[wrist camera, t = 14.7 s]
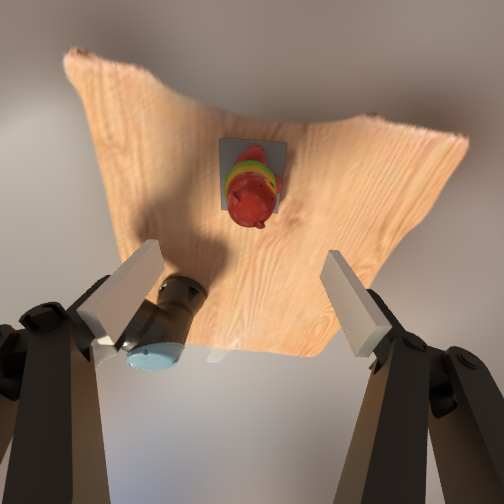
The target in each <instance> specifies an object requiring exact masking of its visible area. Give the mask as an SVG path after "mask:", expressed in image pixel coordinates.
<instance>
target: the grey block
mask: <svg viewBox="0 0 504 504" xmlns="http://www.w3.org/2000/svg"><path fill="white" fill-rule="evenodd" d="M287 144H288V143H285V142H272V141H258V140H244V139H229V138H219V155H220V186H221V210H228V208H227V201H226V198H225V194H224V184H225V179H226V177H227V175H228V173H229V171H230V170H231V169H232V167H233V165H234V163H235V161H236V160H237V158H238V157H239V156H240V154H241V153H242V152H243V151H244V150H246V149H247V148H248V147H250V146H251V145H256V146H261V147H262V149H263V150H264V151H265V153H266V163H267V166H268V168H269V169H270V171H271V172H272V173H274V174H276V175H278V176H279V177H280V178H281V181H282V179H283V172H284V165H285V158H286V151H287ZM280 193H281V192H280ZM280 193H279V194H278V195H277V201H276V206H275V209H274V211H273V213H277V214H278V207H279V200H280Z"/></svg>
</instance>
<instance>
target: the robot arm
mask: <svg viewBox="0 0 504 504" xmlns="http://www.w3.org/2000/svg"><path fill="white" fill-rule="evenodd" d="M164 269H165V266H164V262H163V258H162V254H161V250H160V246H159V242H158V240H153V239H147V240H146V241H145V242H144V243H143V244H142V245H141V246H140V247H139V248H138V249H137V250H136V251H135V252H134V253H133V254H132V255H131V256H130V257H129V258H128V259H127V260H126V261H125V262H124V263H123V264H122V265H121V266H120V267H119V268H118V269H117V270H116V271H115V272H114V273H113V274H112V275H106V276H105V277H103V278H101V279H100V280H98V281H97V282H96V283H95V284H94V285H92V286H91V288H89V289H88V290H87V291H86V293H84V294H83V295H82V296H81V297H80V298H79V299H78V300H77V301H75V302H74V303H73V304H72V305H71V306H70V307H69V308H68V309H67V310H66V311H65V309H64V308H63V307H62V306H61V304H60V303H58V302H48V303H44V304H41V305H38V306H36V307H34V308H32V309H30V310H29V311H27V312H26V313H25V314H24V315H22V316H21V318H20V320H19V322H20V323H21V324H22V325H23V326H24V327H25V328H26V329H20V330H15V329H14V328H12V326H11V325H6V324H3V325H0V504H111V503H110V496H109V486H108V478H107V469H106V460H105V451H104V443H103V435H102V425H101V417H100V407H99V399H98V390H97V382H96V372H95V371H96V370H97V368H98V367H99V365H100V364H101V363H102V362H103V361H104V360H106V359H109V358H111V357H113V356H115V355H116V354H117V353H118V351H119V350H120V349H123V350H125V351H127V352H128V353H127V355H126V362H127V363H128V364H129V365H130V366H132V367H134V368H137V369H140V370H147V371H148V370H149V371H159V370H165V369H168V368H171V367H172V366H174V365H175V364H176V363H177V362H178V360H179V358H180V356H181V354H182V351H183V349H184V345H185V342H186V339H187V336H188V333H189V330H190V327H191V324H192V321H193V318H194V316H195V315H196V314H197V312H198V311H199V310H200V309H201V307H202V306H203V304H204V301H205V298H206V294H205V291H204V289H203V287H202V286H201V285H200V284H199V283H197V282H196V281H194V280H192V279H190V278H186V277H179V276H178V277H171V278H168V279H166V280H165V281H164V282H163V283H162V285H161V286H160V288H159V290H158V296H157V303H156V305H155V304H154V303H152V302H150V301H149V300H147V299H145V298H146V296H147V295H148V293H149V292H150V290H151V289H152V287H153V286H154V284H155V283H156V281H157V280H158V278H159V277H160V275H161V274H162V272H163V271H164ZM320 279H321V281H322V284H323V286H324V288H325V290H326V293H327V295H328V297H329V299H330V302H331V304H332V306H333V308H334V311H335V313H336V315H337V318H338V320H339V322H340V324H341V327H342V329H343V331H344V333H345V336H346V338H347V340H348V342H349V345H350V347H351V349H352V351H353V354H354V356H355V357H369V356H370V355H371V353H372V352H374V354H375V355H376V357H377V358H376V360H375V361H374V362H373V363H372V364H371V366H370V367H369V369H370V370H371V369H372V371H371V375H370V378H369V381H368V385H367V388H366V392H365V395H364V399H363V402H362V406H361V409H360V412H359V416H358V419H357V423H356V426H355V430H354V433H353V437H352V440H351V443H350V447H349V450H348V454H347V457H346V461H345V464H344V467H343V471H342V474H341V478H340V481H339V485H338V488H337V492H336V495H335V499H334V502H333V504H425V496H426V465H427V435H428V434H427V433H428V429H429V433H430V437H431V442H432V447H433V451H434V455H435V460H436V464H437V468H438V473H439V478H440V482H441V487H442V491H443V495H444V500H445V504H504V398H503V396H502V394H501V392H500V391H499V388H498V387H497V385H496V383H495V381H494V379H493V378H492V376H491V374H490V372H489V370H488V368H487V367H486V366H485V364H484V363H483V362H482V361H481V360H480V359H479V358H478V357H477V356H475V355H474V354H472V353H471V352H469V351H467V350H465V349H463V348H460V347H456V346H453V347H450V348H449V349H448V350H446V351H443V350H440V349H437V348H434V347H431V346H428V345H427V344H426V343H425V342H424V341H423V340H422V339H421V338H420V337H418V336H416V335H415V334H413V333H410V332H407V331H406V330H405V329H404V328H403V327H402V325H401V324H400V323H399V321H398V320H397V319H396V317H395V316H394V315H393V313H392V312H391V311H390V310H389V309H388V307H387V305H386V304H384V301H383V300H382V299H381V297H380V296H379V295H378V294H377V293H375V292H374V291H373V290H371V289H365V287H364V286H363V284H362V283H361V282H360V280H359V279H358V277H357V276H356V274H355V273H354V272H353V270H352V269H351V267H350V266H349V264H348V263H347V262H346V260H345V259H344V257H343V256H342V254H341V253H340V252H339V251H337V250H329V251H328V254H327V257H326V260H325V263H324V266H323V269H322V272H321V275H320Z"/></svg>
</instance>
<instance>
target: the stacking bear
mask: <svg viewBox="0 0 504 504" xmlns="http://www.w3.org/2000/svg"><path fill="white" fill-rule="evenodd" d="M282 187H283V182H282V181H281V178H280V177H279V176H278V175H276V174H274V173H272V172H271V171H270V169H269V168H268V166H267V163H266V153H265V151H264V150H263V149H262V147H261V146H256V145H251V146H250V147H248V148H247V149H246V150H244V151H243V152H242V153H241V154H240V156H239V157H238V158H237V160H236V161H235V163H234V165H233V167H232V169H231V170H230V171H229V173H228V175H227V177H226V179H225V184H224V194H225V198H226V201H227V208H228V212H229V215H230V217H231V218H232V219H233V221H234V222H236V223H237V224H238V225H240V226H243V227H256V228H258V229H263V228H265V224H264V222H265V221H266V220H267V219H268V218H269V217H270V216H271V215H272V213H273V211H274V209H275V206H276V201H277V195H278V194H279V193H280V192H281V191H282Z"/></svg>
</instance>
